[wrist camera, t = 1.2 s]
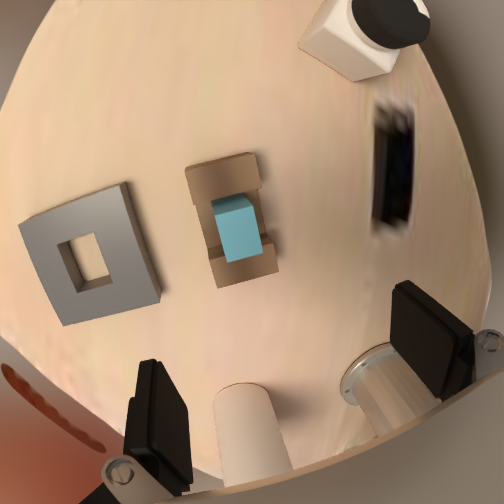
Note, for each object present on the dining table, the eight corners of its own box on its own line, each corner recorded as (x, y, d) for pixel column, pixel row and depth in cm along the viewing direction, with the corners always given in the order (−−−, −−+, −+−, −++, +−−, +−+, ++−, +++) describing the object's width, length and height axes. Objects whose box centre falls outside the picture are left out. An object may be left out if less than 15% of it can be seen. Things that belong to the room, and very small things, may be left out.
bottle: (271, 379, 39) (348, 586, 11) (266, 415, 42) (326, 592, 14) (210, 384, 37) (253, 609, 10) (213, 420, 40) (249, 608, 13)
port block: (125, 181, 27) (119, 185, 25) (161, 290, 31) (159, 302, 29) (28, 218, 26) (17, 224, 23) (69, 314, 30) (63, 326, 28)
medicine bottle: (352, 83, 27) (428, 67, 16) (295, 47, 25) (351, 5, 14) (375, 38, 25) (447, 11, 14) (322, 1, 23) (381, -46, 12)
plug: (241, 192, 29) (253, 205, 23) (250, 231, 30) (263, 252, 25) (210, 200, 29) (214, 215, 23) (220, 239, 30) (227, 262, 25)
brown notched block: (247, 152, 28) (254, 153, 25) (270, 258, 32) (278, 271, 29) (185, 167, 28) (184, 171, 24) (214, 273, 32) (217, 288, 29)
